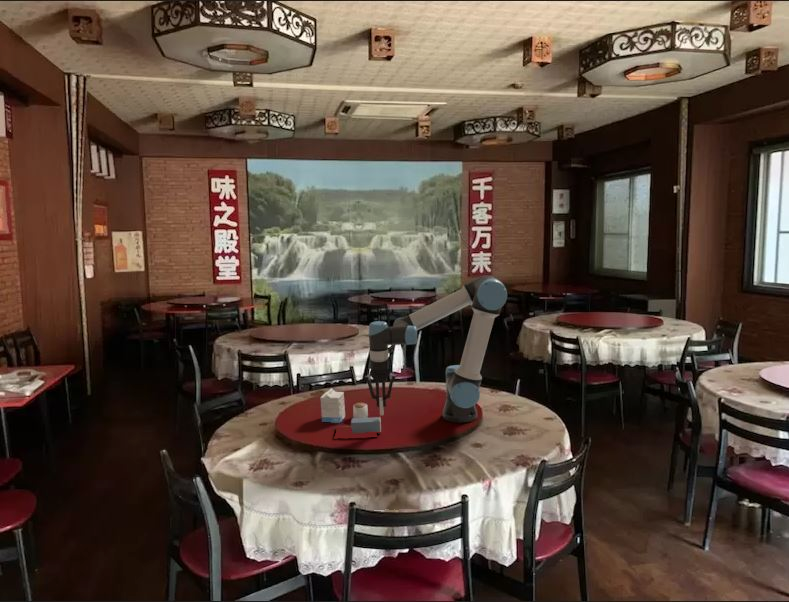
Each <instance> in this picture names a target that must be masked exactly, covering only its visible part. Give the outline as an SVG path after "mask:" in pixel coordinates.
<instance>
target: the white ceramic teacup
mask: <svg viewBox="0 0 789 602" xmlns="http://www.w3.org/2000/svg"><path fill="white" fill-rule="evenodd" d="M368 407H369V406H368V404H367V403H365V402H356V403H355V404H353V406H352V410H353V411H352V412H353V414H352V416H353V418H369V412H368V411H369V410H368Z"/></svg>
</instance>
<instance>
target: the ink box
mask: <svg viewBox="0 0 789 602" xmlns="http://www.w3.org/2000/svg"><path fill="white" fill-rule="evenodd" d="M344 395H345V392H344V391H335V390H334V389H333V388H332V387H331V388H330V389H329V390H328V391H326V392H324V393H323V394H322V395H321V396H320V410H321V422H331V423H330V424H341V423H340V422H342V421H343V420H344V419H345V418H346V410H345V409H346V407H345V396H344Z"/></svg>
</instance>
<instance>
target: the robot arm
mask: <svg viewBox="0 0 789 602" xmlns="http://www.w3.org/2000/svg"><path fill="white" fill-rule="evenodd" d="M507 299H508V291H507V288H506V286H505V284H504V283H503V282H502V281H501V280H499V279H498V278H496V277H494V276H493V275H487V274H484V275H481V276H477V278H475V279H473V280H471V281H469V282H466V283H465V284H463V285H462V286H461V289H459V290H456V291H455V292H453V293H451V294H448V295H446V296H444V297H443V298H440V299H439V300H436V301H434V302H433V303H431V304H429V305H427V306H424V307H422V308H421V309H418V310H416V311H414V312H412V313H410V314H408V315H406V316H404V317H398V318H396V319H395V320H394V322H393V324H392V326H389V325H388V323H387V322H386V321H381V320H380V321H379V320H378V321H377V320H376V321H373V322H370V323H369V325H368V341H369V359H370V360H369V362H370V371H369V373H368V374H367V375H365V376H364V380H365V382H366V383H367V385H368V390H369V392H370V395H371V398H372V399H373V400H376V408H379V416H384V408H385V407H387V399H390V398H391V393H392V389H393V384H394V381H395V380H396V374H395V373H394V374H393V373H391V371H390V365H389V364H390V362H389V361H390V360H389V346H399V345H400V346H402V345H403V346H404V345H407V346H409V345H416V344H417V343H418V331H419V330H420V329H423V328H425V327H427V326H429V325H431V324H433V323H435V322H438V321H439V320H440V321H441V320H442V319H444V318H446V317H447V316H449V315H451V314H453V313H456V312H457V311H460V310H462V309H464V308H466V307H468V306H471V309H472V311H473V314H472V318H471V322H470V325H469V326H470V327H469V329H468V334H467V338H466V340H465V345H464V348H463V352H462V355H461V359H460V363H459V364H454V365H449V366H447V367H446V369H445V387H446V389H445V390H446V391H445V394H446V400H445V403H444V407H443V410H442V418H443V420H446V421H448V422H451V423H459V424H461V423H462V422H464V423H469V422H473V421H475V420H476V419H477V418H478V411H477V407H476V404H478V402H479V401H480V400H479V399H480V397H481V396H480V394H481V392H480V387H481V384H482V380H483V376H482V375H481V373H480V372H481V370H482V365H483V362H484V357H485V355H486V352H487V348H488V343H489V339H490V335H491V332H492V328H493V325H494V321H495V318H498V316H500V314H501V310H502V307H503V306H504V305H505V304H506V302H507ZM388 378H389V383H388V389H387V393H386V381H387V379H388ZM371 379H372V380H373V381H374V382H375V391H374V387H373V384H372V380H371ZM380 382H381V391H382V397H380Z"/></svg>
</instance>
